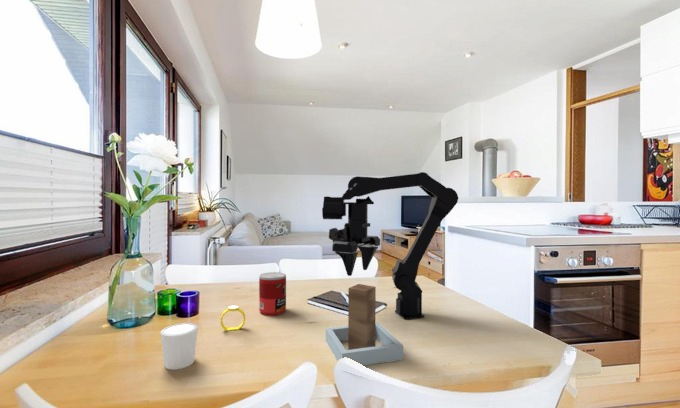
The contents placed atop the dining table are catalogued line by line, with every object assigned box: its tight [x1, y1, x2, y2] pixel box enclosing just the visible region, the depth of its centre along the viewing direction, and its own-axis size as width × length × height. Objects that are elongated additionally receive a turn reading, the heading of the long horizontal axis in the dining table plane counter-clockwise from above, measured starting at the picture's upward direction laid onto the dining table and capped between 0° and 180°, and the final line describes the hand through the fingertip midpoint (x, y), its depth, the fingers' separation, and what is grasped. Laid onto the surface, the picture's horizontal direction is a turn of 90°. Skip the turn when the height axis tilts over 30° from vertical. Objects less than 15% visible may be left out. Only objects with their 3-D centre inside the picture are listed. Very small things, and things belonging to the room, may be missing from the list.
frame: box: [325, 322, 404, 366], centre depth 73 cm, size 13×13×3 cm
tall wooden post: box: [347, 283, 377, 350], centre depth 73 cm, size 4×4×14 cm
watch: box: [220, 304, 246, 332], centre depth 85 cm, size 6×3×6 cm, turn 107°
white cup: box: [160, 322, 199, 370], centre depth 67 cm, size 7×7×7 cm
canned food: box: [258, 271, 287, 316], centre depth 98 cm, size 8×8×11 cm
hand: (357, 272), depth 97 cm, fingers open, 9 cm apart
